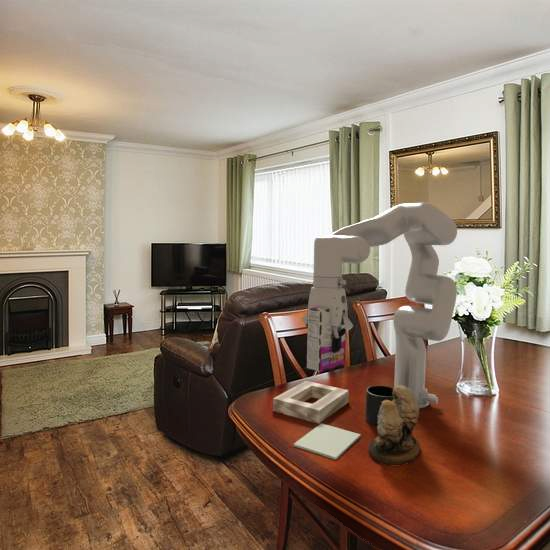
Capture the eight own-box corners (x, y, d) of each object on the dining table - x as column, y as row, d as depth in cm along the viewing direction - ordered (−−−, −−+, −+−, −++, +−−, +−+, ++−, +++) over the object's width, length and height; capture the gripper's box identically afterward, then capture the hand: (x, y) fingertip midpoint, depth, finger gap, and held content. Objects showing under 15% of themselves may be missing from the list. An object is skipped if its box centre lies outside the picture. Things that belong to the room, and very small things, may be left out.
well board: (348, 402, 143) (348, 390, 142) (319, 423, 126) (319, 410, 126) (305, 391, 152) (305, 380, 151) (273, 410, 135) (273, 398, 135)
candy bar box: (331, 360, 124) (333, 303, 123) (345, 364, 121) (348, 305, 119) (304, 368, 116) (307, 307, 115) (319, 373, 113) (321, 310, 111)
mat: (360, 436, 119) (360, 434, 119) (335, 459, 106) (335, 457, 106) (321, 425, 125) (321, 423, 125) (293, 446, 113) (293, 443, 113)
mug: (404, 415, 133) (405, 386, 132) (392, 430, 122) (393, 399, 122) (374, 408, 138) (375, 380, 137) (360, 422, 127) (361, 392, 127)
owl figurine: (384, 431, 123) (386, 371, 121) (427, 442, 116) (430, 380, 115) (359, 457, 107) (362, 390, 106) (407, 472, 101) (411, 401, 100)
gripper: (363, 284, 114) (361, 352, 116) (307, 279, 124) (305, 342, 126) (350, 286, 108) (348, 358, 110) (292, 281, 118) (291, 347, 120)
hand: (325, 349), depth 118 cm, fingers closed on candy bar box, 5 cm apart
